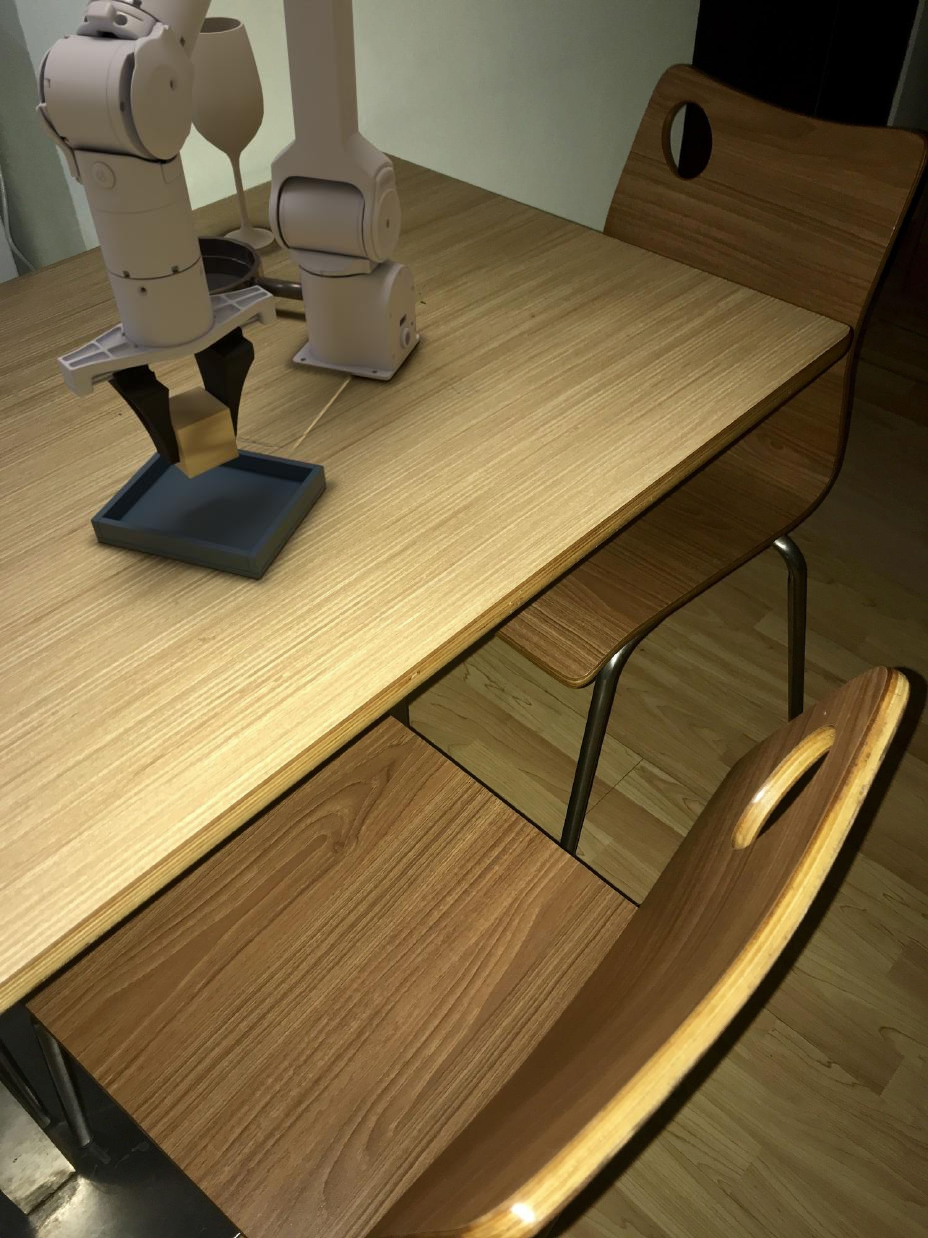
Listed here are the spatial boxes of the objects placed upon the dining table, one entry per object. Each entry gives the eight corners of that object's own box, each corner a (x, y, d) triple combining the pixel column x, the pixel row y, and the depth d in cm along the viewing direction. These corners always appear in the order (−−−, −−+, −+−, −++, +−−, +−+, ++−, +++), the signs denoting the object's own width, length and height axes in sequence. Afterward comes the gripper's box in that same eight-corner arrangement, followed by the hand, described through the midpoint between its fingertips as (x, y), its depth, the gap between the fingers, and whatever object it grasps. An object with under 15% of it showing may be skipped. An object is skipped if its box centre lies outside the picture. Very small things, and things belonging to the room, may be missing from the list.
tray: (326, 486, 77) (323, 465, 75) (259, 579, 69) (254, 557, 68) (177, 455, 80) (172, 434, 78) (97, 541, 72) (89, 519, 71)
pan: (289, 283, 101) (284, 245, 98) (226, 346, 92) (218, 305, 89) (176, 266, 104) (168, 228, 101) (105, 325, 95) (93, 285, 93)
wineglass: (298, 237, 109) (269, 20, 94) (252, 264, 104) (214, 40, 90) (245, 222, 112) (209, 9, 97) (198, 248, 107) (153, 28, 93)
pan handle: (333, 299, 94) (331, 283, 93) (326, 307, 93) (324, 291, 92) (257, 288, 96) (255, 272, 95) (250, 295, 95) (247, 279, 94)
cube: (210, 432, 73) (199, 384, 70) (239, 456, 71) (229, 408, 68) (162, 453, 71) (148, 405, 68) (190, 478, 69) (177, 430, 66)
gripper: (222, 206, 66) (255, 385, 76) (12, 272, 59) (77, 459, 69) (281, 239, 62) (307, 423, 72) (63, 314, 56) (125, 506, 65)
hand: (198, 444), depth 70 cm, fingers closed on cube, 4 cm apart
